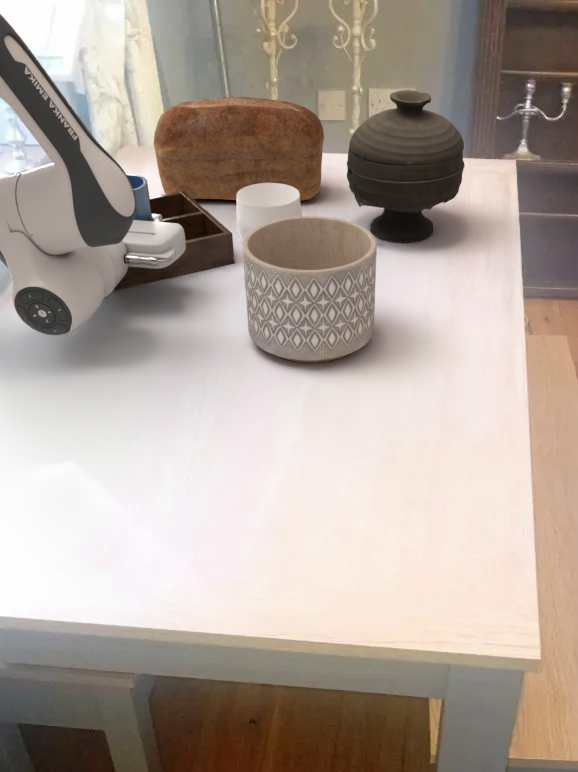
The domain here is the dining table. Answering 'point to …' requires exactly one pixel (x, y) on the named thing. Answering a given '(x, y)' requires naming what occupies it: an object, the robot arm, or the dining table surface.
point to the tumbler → (141, 197)
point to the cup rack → (202, 236)
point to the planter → (310, 287)
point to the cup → (265, 205)
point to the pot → (405, 166)
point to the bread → (238, 147)
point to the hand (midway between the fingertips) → (129, 217)
